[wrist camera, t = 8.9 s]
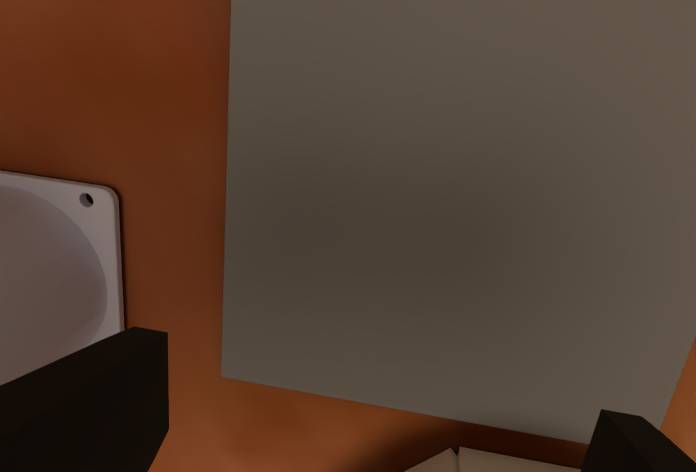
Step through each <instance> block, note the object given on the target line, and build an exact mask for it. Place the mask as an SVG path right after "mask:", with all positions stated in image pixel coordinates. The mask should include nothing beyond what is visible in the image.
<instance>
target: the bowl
mask: <svg viewBox="0 0 696 472" xmlns="http://www.w3.org/2000/svg"><path fill="white" fill-rule="evenodd" d="M580 471H581V469H576V468H571V467H565V466H560V465H555V464H549V463H544V462H539V461H533V460H528V459H523V458H517V457H512V456H507V455H501V454H496V453H491V452H485V451H480V450H475V449H469V448H464V447H459V451H458V455H456V454H455V453H454V451H453V450H452V449H451V448H449V449H447V450H445V451H443V452H441V453H439V454H437V455H435V456H433V457H431V458H429V459H428V460H426V461H424V462H422V463H420V464H418V465H416V466H414V467H412V468H410V469H408V470H406V471H404V472H580Z"/></svg>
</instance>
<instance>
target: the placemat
mask: <svg viewBox="0 0 696 472" xmlns="http://www.w3.org/2000/svg"><path fill="white" fill-rule="evenodd" d="M695 337H696V0H231V28H230V64H229V101H228V137H227V174H226V210H225V247H224V283H223V320H222V357H221V377H224V378H229V379H235V380H240V381H245V382H251V383H256V384H262V385H267V386H273V387H278V388H284V389H289V390H295V391H300V392H306V393H311V394H316V395H322V396H327V397H333V398H338V399H344V400H349V401H355V402H360V403H366V404H371V405H377V406H382V407H387V408H393V409H398V410H404V411H409V412H415V413H420V414H426V415H431V416H437V417H442V418H448V419H453V420H458V421H464V422H469V423H475V424H480V425H486V426H491V427H497V428H502V429H508V430H513V431H519V432H524V433H529V434H535V435H540V436H546V437H551V438H557V439H562V440H568V441H573V442H579V443H584V444H590V441H591V438H592V435H593V432H594V429H595V426H596V423H597V420H598V417H599V414H600V411H601V409H604V410H609V411H615V412H621V413H626V414H632V415H638V416H642V417H643V418H644V419H646V420H647V421H648V422H649V423H651V424H652V425H653V426H654V427H656V428H657V429H658V430H660V427H661V425H662V422H663V420H664V417H665V414H666V412H667V409H668V407H669V404H670V402H671V399H672V396H673V394H674V391H675V389H676V386H677V383H678V381H679V378H680V376H681V373H682V370H683V368H684V365H685V363H686V360H687V358H688V355H689V352H690V350H691V347H692V345H693V342H694V339H695Z"/></svg>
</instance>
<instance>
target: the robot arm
mask: <svg viewBox="0 0 696 472" xmlns="http://www.w3.org/2000/svg"><path fill="white" fill-rule="evenodd" d="M86 193H87V194H90V195H91V197H92V198H93V201H94V202H93V204H91V203H90V202H89V201H88V200H87V198H86ZM168 430H169V397H168V333H167V332H161V331H156V330H150V329H144V328H139V327H132V328H129V329H127V330H124V308H123V287H122V265H121V244H120V222H119V201H118V197H117V195H116V193H115V192H114V191H113V190H112V189H111V188H109V187H106V186H101V185H94V184H88V183H81V182H74V181H68V180H61V179H54V178H48V177H41V176H34V175H28V174H21V173H14V172H8V171H1V170H0V472H148V470H149V468H150V466H151V464H152V462H153V460H154V459H155V456H156V454H157V452H158V450H159V448H160V446H161V444H162V442H163V440H164V438H165V436H166V434H167V432H168ZM580 472H696V463H695V462H694V461H693V460H692V459H691V458H690V457H688V456H687V455H686V454H685V453H684V452H683V451H682V450H681V449H680V448H678V447H677V446H676V445H675V444H674V443H673V442H672V441H671V440H669V439H668V438H667V437H666V436H665V435H664V434H663V433H661V432H660V431H659V430H658V429H657V428H656V427H654V426H653V425H652V424H651V423H649V422H648V421H647V420H646V419H644V418H643V417H642V416H638V415H632V414H626V413H621V412H615V411H609V410H604V409H601V411H600V414H599V417H598V420H597V423H596V426H595V429H594V432H593V435H592V438H591V441H590V444H589V447H588V450H587V453H586V456H585V459H584V462H583V465H582V468H581V471H580Z"/></svg>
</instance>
